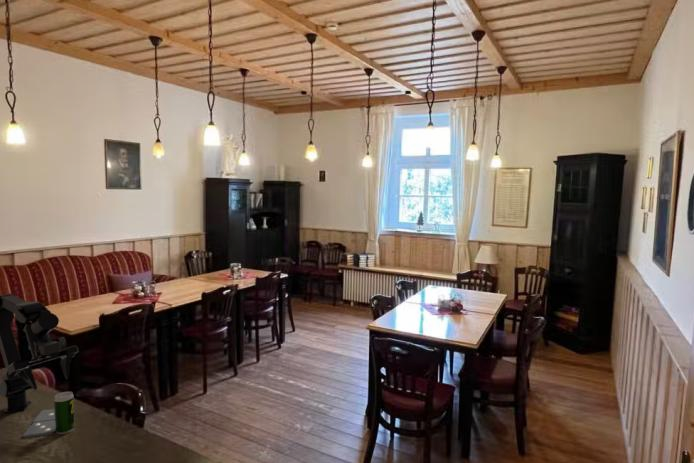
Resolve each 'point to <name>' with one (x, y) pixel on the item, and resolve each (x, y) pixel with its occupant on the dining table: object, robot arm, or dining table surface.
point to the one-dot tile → (45, 416)
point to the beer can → (64, 412)
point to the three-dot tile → (40, 429)
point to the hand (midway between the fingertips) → (52, 384)
